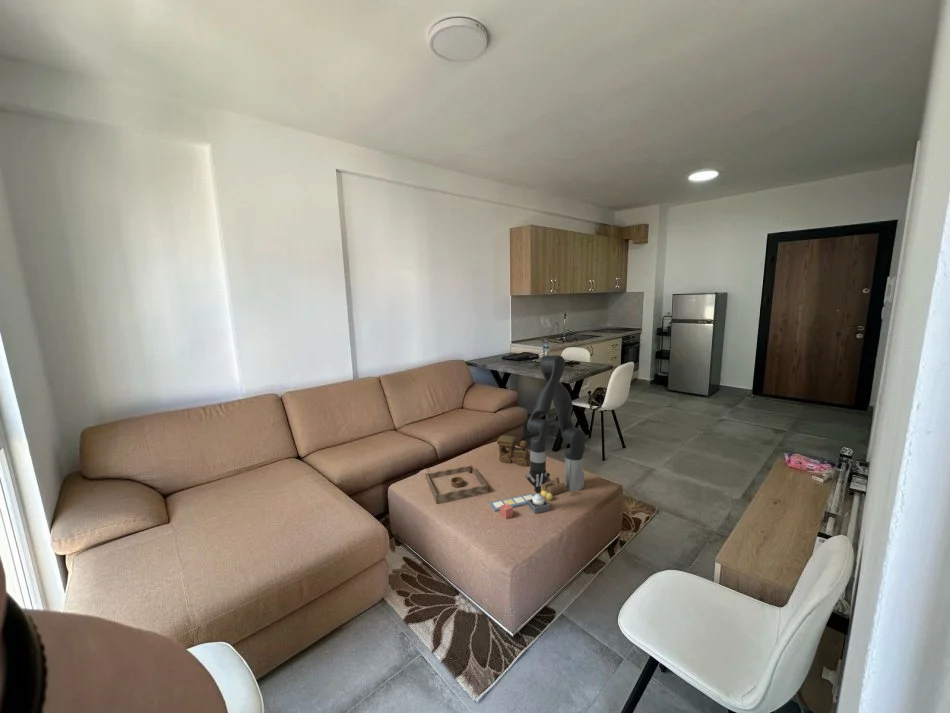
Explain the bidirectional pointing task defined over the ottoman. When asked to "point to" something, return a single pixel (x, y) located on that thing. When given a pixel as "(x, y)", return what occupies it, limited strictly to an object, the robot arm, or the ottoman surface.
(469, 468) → the place setting
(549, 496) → the pawn
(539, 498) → the dome
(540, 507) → the base
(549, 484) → the wooden block set
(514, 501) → the board
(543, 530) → the ottoman surface
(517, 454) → the wooden toy train
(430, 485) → the serving frame
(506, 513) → the die
